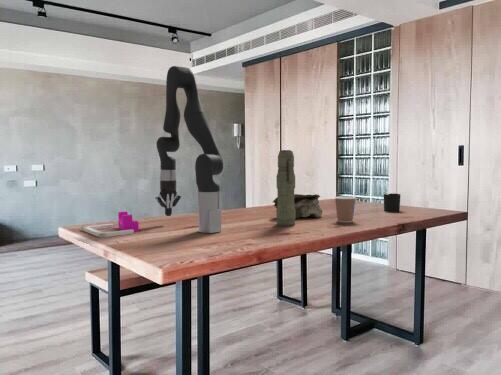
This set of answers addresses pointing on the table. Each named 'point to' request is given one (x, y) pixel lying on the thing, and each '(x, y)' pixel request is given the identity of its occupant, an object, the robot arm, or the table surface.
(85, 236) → the table surface
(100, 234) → the frame
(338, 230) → the table surface
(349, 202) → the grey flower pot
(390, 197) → the pen holder
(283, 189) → the green stone statue
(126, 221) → the toy block
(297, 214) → the hollow geode rock
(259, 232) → the table surface
